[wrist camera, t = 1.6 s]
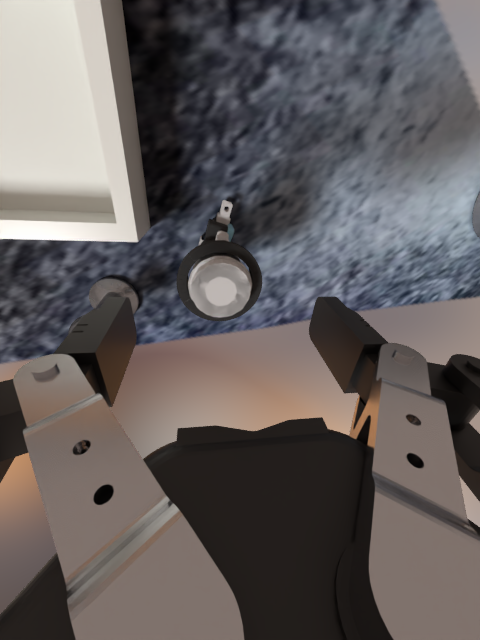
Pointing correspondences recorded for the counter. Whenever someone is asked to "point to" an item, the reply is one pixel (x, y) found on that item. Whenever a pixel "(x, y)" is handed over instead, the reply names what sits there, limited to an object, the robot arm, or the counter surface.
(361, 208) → the counter surface
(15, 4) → the bin
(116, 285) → the ball stud post
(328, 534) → the robot arm
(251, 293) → the push button
